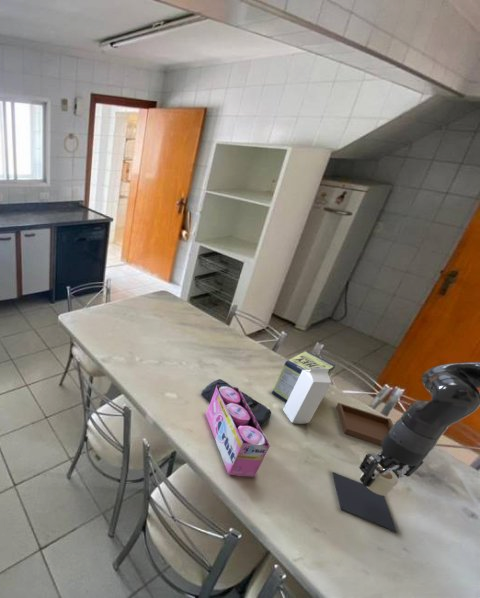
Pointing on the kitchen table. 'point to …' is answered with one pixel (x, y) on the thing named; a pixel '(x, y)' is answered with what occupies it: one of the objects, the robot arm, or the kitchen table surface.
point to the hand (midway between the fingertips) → (375, 483)
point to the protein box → (297, 372)
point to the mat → (363, 502)
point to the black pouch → (259, 411)
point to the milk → (307, 395)
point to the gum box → (236, 432)
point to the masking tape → (383, 483)
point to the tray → (363, 424)
